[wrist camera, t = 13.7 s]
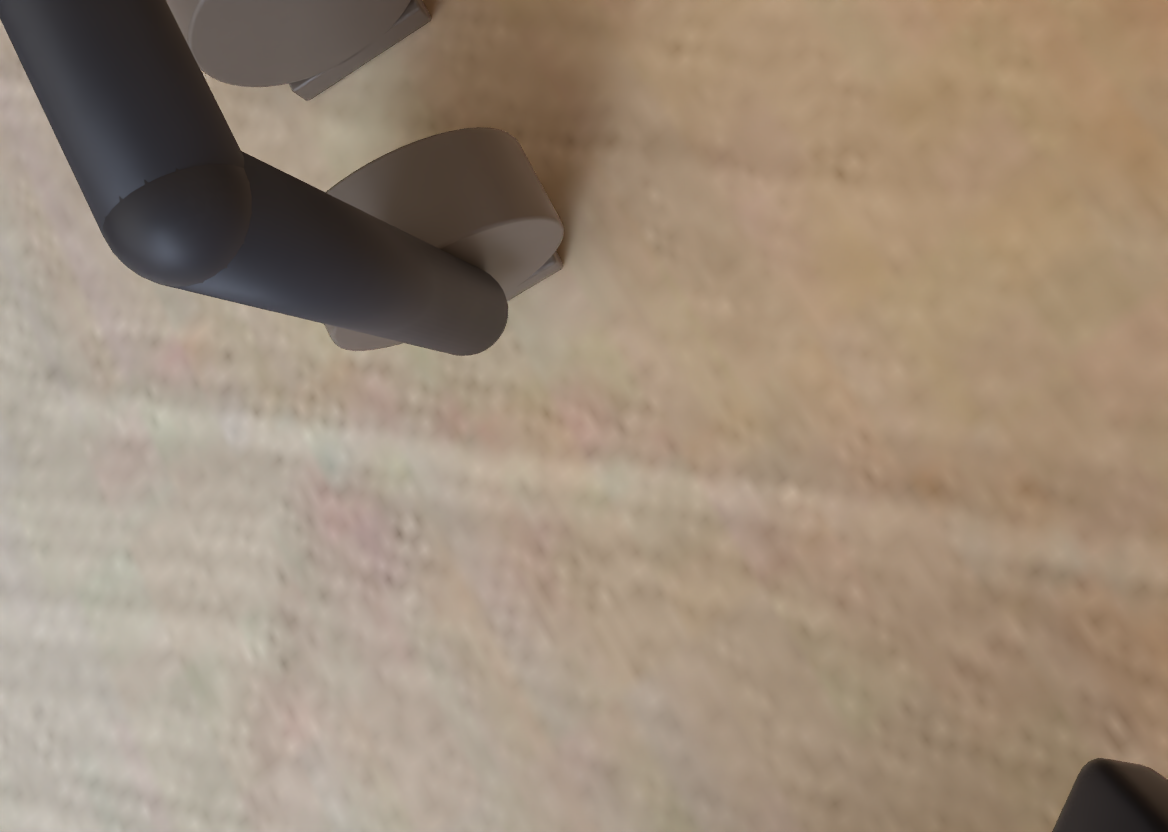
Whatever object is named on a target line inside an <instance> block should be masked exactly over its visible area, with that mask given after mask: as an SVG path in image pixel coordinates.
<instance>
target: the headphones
mask: <svg viewBox="0 0 1168 832" xmlns="http://www.w3.org/2000/svg"><path fill="white" fill-rule="evenodd" d="M0 19H1V21H2V23H3V25H4V27H5V30H6V32H7V34H8V36H9V38H10V40H11V42H12V44H13V46H14V49H15V51H16V53H17V55H18V57H19V59H20V61H21V63H22V65H23V68H24V70H25V72H26V74H27V76H28V78H29V80H30V82H31V84H32V87H33V89H34V91H35V93H36V95H37V97H38V99H39V101H40V104H41V106H42V108H43V110H44V112H45V114H46V116H47V118H48V120H49V123H50V125H51V127H52V129H53V131H54V133H55V135H56V137H57V139H58V142H59V144H60V146H61V148H62V150H63V152H64V154H65V156H66V158H67V161H68V163H69V165H70V167H71V169H72V171H73V173H74V175H75V177H76V180H77V182H78V184H79V186H80V188H81V190H82V192H83V194H84V197H85V199H86V201H87V203H88V205H89V207H90V209H91V211H92V213H93V216H94V218H95V220H96V222H97V224H98V226H99V228H100V230H101V232H102V235H103V237H104V238H105V240H106V242H107V243H108V245H109V247H110V248H111V250H112V252H113V253H114V254H115V255H116V256H117V257H118V258H119V259H120V260H121V262H123V264H125V265H126V266H127V267H128V268H130V269H131V270H132V271H134V272H135V273H137V274H138V275H140V276H141V277H144V278H146V279H148V280H151V281H153V282H156V283H158V284H161V285H165V286H169V287H174V288H178V289H182V290H186V291H190V292H194V293H199V294H203V295H207V296H211V297H215V298H219V299H224V300H228V301H232V302H236V303H240V304H244V305H249V306H253V307H257V308H261V309H265V310H269V311H274V312H278V313H282V314H286V315H290V316H294V317H299V318H303V319H307V320H311V321H315V322H319V323H324V325H325V327H326V329H327V331H328V333H329V335H330V337H331V339H332V340H333V342H334V343H335V344H336V345H337V346H339V347H340V348H343V349H346V350H352V351H365V350H374V349H380V348H385V347H390V346H394V345H397V344H401V343H407V344H411V345H415V346H419V347H424V348H428V349H432V350H436V351H440V352H444V353H449V354H453V355H459V356H465V355H473V354H478V353H480V352H482V351H484V350H486V349H488V348H489V347H491V346H492V345H493V344H494V343H495V342H496V341H497V340H498V339H499V337H500V336H501V334H502V333H503V331H504V328H505V326H506V323H507V318H508V304H507V301H508V300H510V299H511V298H513V297H515V296H517V295H518V294H520V293H522V292H523V291H525V290H527V289H528V288H530V287H532V286H533V285H535V284H537V283H539V282H540V281H542V280H544V279H545V278H547V277H549V276H550V275H552V274H554V273H555V272H557V271H559V270H561V269H562V268H563V263H562V261H561V259H560V257H559V255H558V253H557V251H556V250H557V248H558V247H559V245H560V243H561V241H562V239H563V235H564V227H563V224H562V222H561V220H560V218H559V216H558V214H557V212H556V210H555V209H554V207H553V205H552V203H551V201H550V199H549V197H548V196H547V194H546V192H545V190H544V188H543V186H542V184H541V183H540V181H539V179H538V177H537V175H536V173H535V171H534V170H533V168H532V166H531V164H530V162H529V160H528V158H527V157H526V155H525V153H524V151H523V149H522V147H521V145H520V144H519V142H518V141H517V139H516V138H515V137H513V136H512V135H510V134H509V133H508V132H505V131H502V130H500V129H494V128H479V127H478V128H466V129H460V130H454V131H449V132H445V133H441V134H437V135H434V136H430V137H427V138H424V139H421V140H418V141H416V142H413V143H410V144H408V145H405V146H403V147H400V148H398V149H396V150H394V151H392V152H389V153H387V154H385V155H383V156H381V157H379V158H377V159H376V160H374V161H372V162H370V163H368V164H366V165H365V166H363V167H361V168H360V169H358V170H356V171H355V172H353V173H352V174H350V175H349V176H347V177H346V178H344V179H343V180H341V181H340V182H338V183H337V184H336V185H334V186H333V187H332V188H331V189H329V190H328V191H327V192H323V191H321V190H319V189H317V188H315V187H313V186H311V185H309V184H307V183H305V182H303V181H301V180H299V179H297V178H295V177H293V176H291V175H289V174H287V173H285V172H282V171H280V170H278V169H276V168H274V167H272V166H270V165H268V164H266V163H264V162H262V161H260V160H258V159H256V158H254V157H252V156H250V155H248V154H246V153H244V152H242V151H241V150H240V148H239V146H238V144H237V142H236V140H235V138H234V136H233V134H232V132H231V130H230V128H229V126H228V124H227V122H226V120H225V118H224V116H223V114H222V112H221V110H220V108H219V106H218V104H217V102H216V100H215V98H214V96H213V94H212V92H211V90H210V88H209V86H208V84H207V82H206V80H205V78H204V76H203V74H202V72H201V70H202V71H204V72H205V73H206V74H208V75H209V76H211V77H212V78H215V79H217V80H219V81H221V82H224V83H228V84H231V85H237V86H244V87H268V86H276V85H283V84H288V83H289V85H290V87H291V89H292V91H293V92H294V93H296V94H297V95H299V96H300V97H302V98H304V99H305V100H307V101H308V100H310V99H312V98H313V97H315V96H316V95H318V94H320V93H321V92H323V91H324V90H326V89H327V88H329V87H330V86H332V85H333V84H335V83H336V82H338V81H339V80H341V79H342V78H344V77H345V76H347V75H348V74H350V73H352V72H353V71H355V70H356V69H358V68H359V67H361V66H362V65H364V64H365V63H367V62H368V61H370V60H371V59H373V58H374V57H376V56H377V55H379V54H381V53H382V52H384V51H385V50H387V49H388V48H390V47H391V46H393V45H394V44H396V43H397V42H399V41H400V40H402V39H403V38H405V37H406V36H408V35H409V34H411V33H413V32H414V31H416V30H417V29H419V28H420V27H422V26H423V25H425V24H426V23H428V22H429V21H430V20H431V16H430V14H429V12H428V10H427V8H426V7H425V5H424V3H423V1H422V0H0ZM200 69H201V70H200Z"/></svg>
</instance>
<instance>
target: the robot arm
mask: <svg viewBox="0 0 1168 832" xmlns="http://www.w3.org/2000/svg"><path fill="white" fill-rule="evenodd" d="M1052 832H1168V780H1167V779H1166V778H1164V777H1163V776H1162V775H1160V774H1159V773H1157V772H1156V771H1154V770H1153V769H1151V768H1149V767H1146V766H1143V765H1139V764H1134V763H1128V762H1122V761H1116V760H1111V759H1104V758H1097V759H1094V760H1091V761H1089V762H1088V763H1087V764H1086V765H1085V766H1084V767H1083V768H1082V769H1081V771H1080V773H1079V774H1078V776H1077V779H1076V781H1075V783H1074V785H1073V787H1072V790H1071V792H1070V794H1069V796H1068V798H1067V800H1066V803H1065V805H1064V807H1063V809H1062V811H1061V814H1060V816H1059V818H1058V820H1057V822H1056V825H1055V827H1054V829H1053V831H1052Z"/></svg>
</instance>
